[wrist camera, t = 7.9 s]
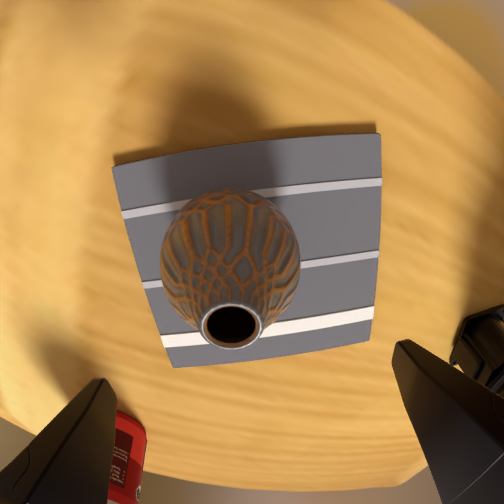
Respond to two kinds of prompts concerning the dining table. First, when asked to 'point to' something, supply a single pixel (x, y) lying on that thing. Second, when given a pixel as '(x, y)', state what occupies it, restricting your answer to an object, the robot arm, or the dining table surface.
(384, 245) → the dining table surface
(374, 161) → the mat
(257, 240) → the vase
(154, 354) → the dining table surface
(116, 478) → the canned food
